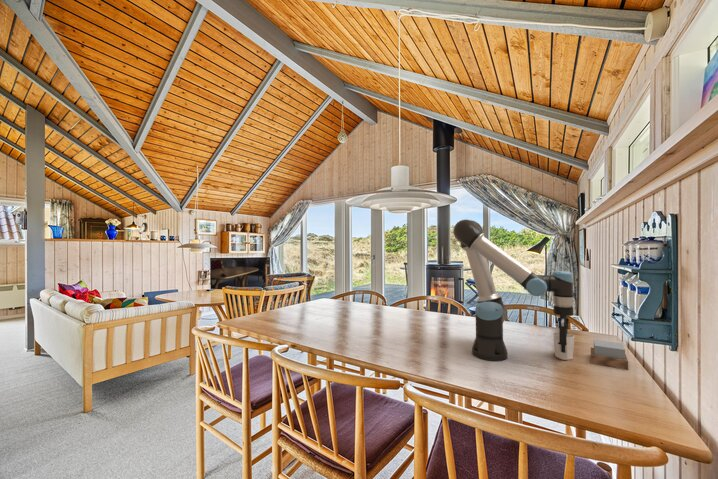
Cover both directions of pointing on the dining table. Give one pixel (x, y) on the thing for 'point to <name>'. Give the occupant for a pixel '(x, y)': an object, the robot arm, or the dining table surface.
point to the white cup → (569, 345)
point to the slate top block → (609, 349)
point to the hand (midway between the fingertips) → (564, 356)
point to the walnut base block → (609, 361)
